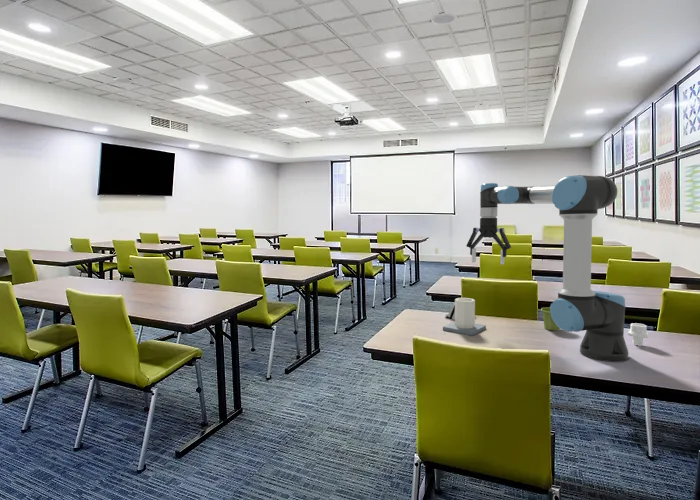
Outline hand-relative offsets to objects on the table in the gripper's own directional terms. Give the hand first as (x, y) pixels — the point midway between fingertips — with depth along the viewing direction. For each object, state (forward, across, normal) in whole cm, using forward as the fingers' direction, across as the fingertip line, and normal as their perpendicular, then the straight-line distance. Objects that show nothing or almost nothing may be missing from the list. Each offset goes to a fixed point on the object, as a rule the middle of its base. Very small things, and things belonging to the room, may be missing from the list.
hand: (487, 263), depth 192 cm
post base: (+29, +4, +15) cm, 33 cm away
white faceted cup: (+27, +4, +15) cm, 31 cm away
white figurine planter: (+29, -58, -7) cm, 65 cm away
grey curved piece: (+29, +17, -6) cm, 34 cm away
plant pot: (+29, -26, -10) cm, 40 cm away
